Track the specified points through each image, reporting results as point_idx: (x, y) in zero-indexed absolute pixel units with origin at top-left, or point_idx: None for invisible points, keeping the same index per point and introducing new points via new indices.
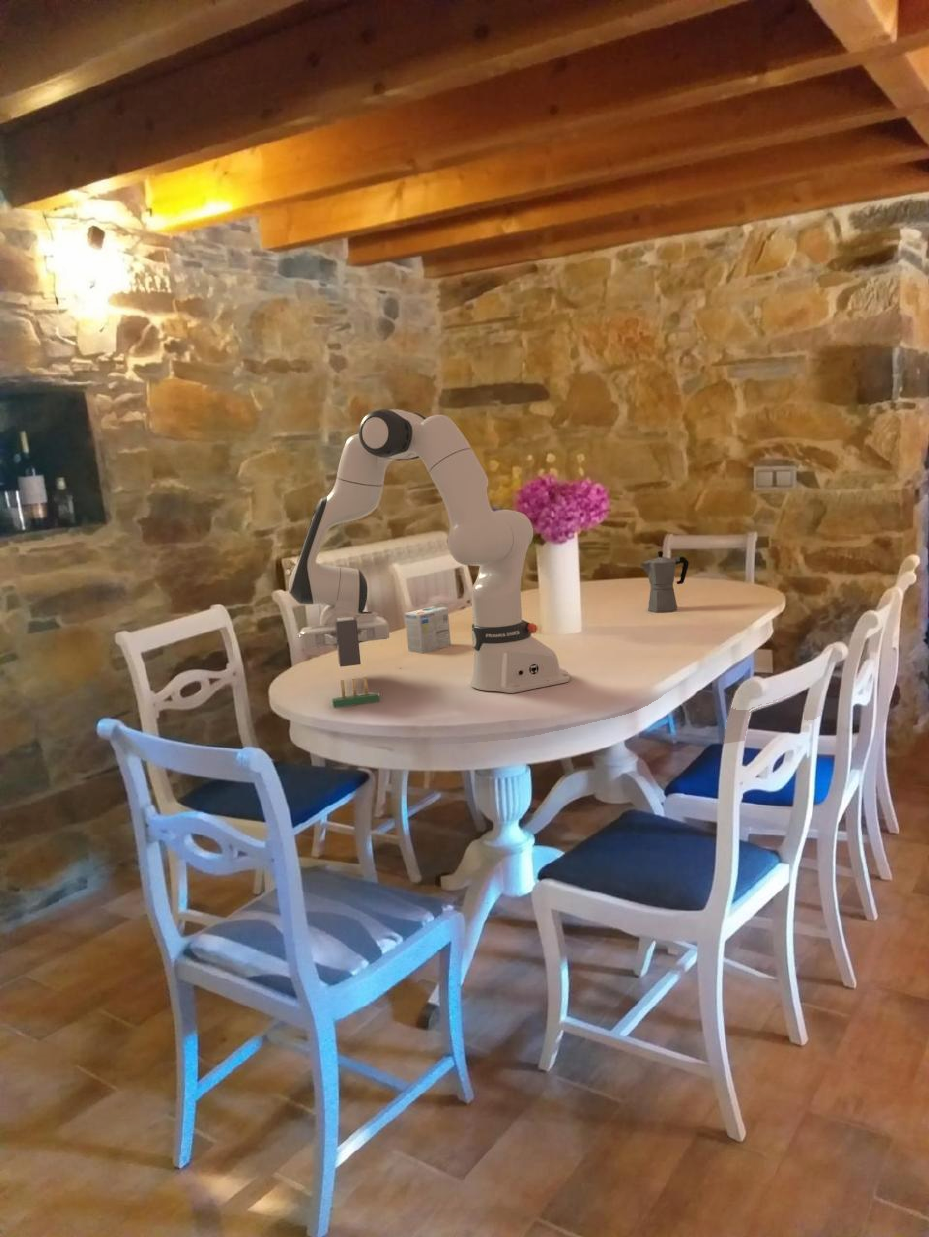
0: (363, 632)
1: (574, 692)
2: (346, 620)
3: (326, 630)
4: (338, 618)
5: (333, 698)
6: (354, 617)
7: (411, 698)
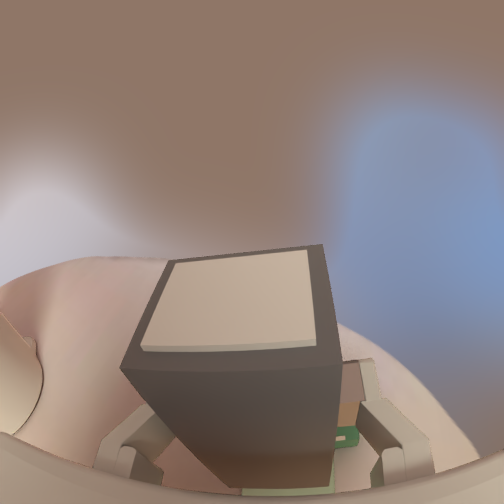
0: (140, 408)
1: (8, 313)
2: (237, 260)
3: (421, 484)
4: (295, 325)
5: (355, 437)
6: (133, 345)
7: None
